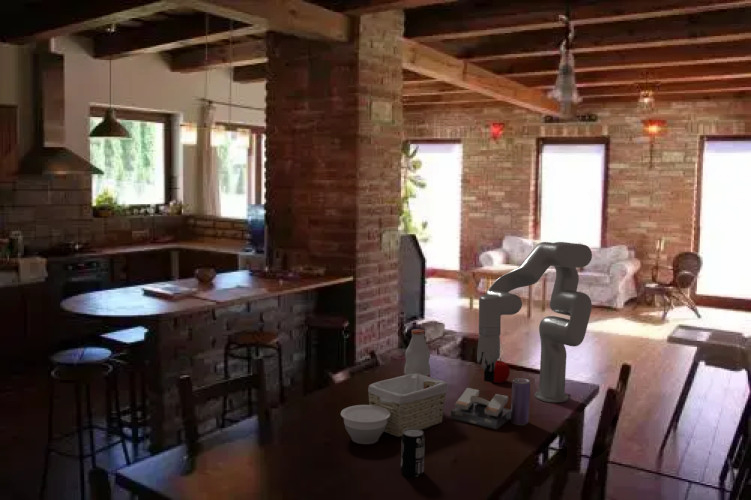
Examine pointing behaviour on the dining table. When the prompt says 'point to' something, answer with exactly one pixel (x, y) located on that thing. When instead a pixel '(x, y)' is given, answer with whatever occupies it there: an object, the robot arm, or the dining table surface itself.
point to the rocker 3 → (496, 405)
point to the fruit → (501, 372)
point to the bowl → (365, 422)
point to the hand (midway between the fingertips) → (489, 380)
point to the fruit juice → (417, 355)
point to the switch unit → (481, 416)
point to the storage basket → (409, 401)
